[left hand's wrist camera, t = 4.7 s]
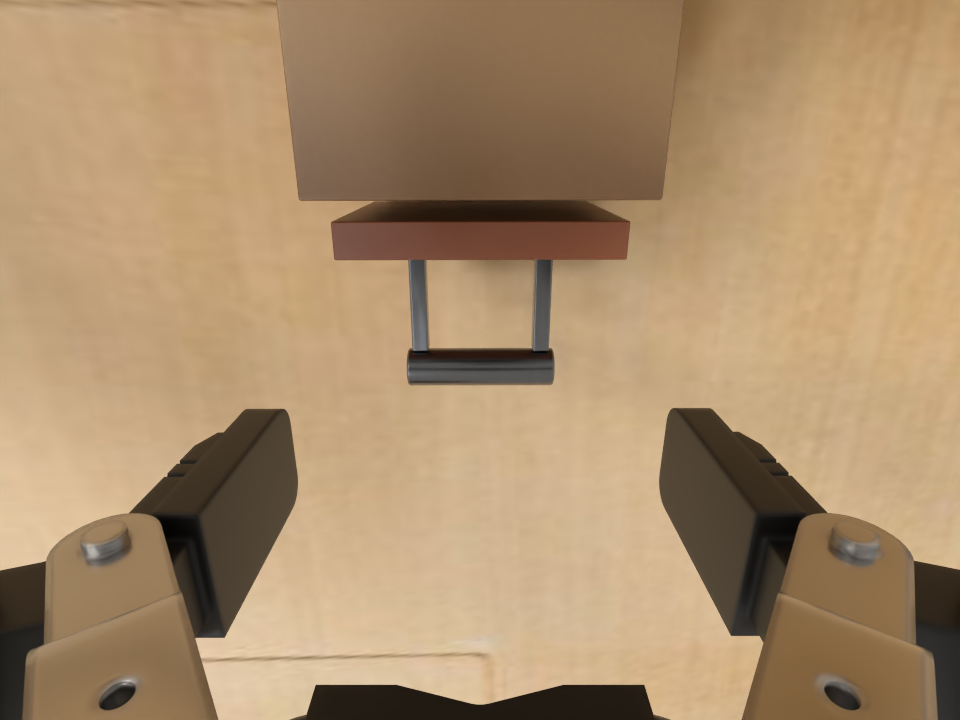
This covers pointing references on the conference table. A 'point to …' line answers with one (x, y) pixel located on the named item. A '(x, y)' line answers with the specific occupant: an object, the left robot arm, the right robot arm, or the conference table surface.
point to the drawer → (480, 236)
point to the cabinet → (480, 98)
